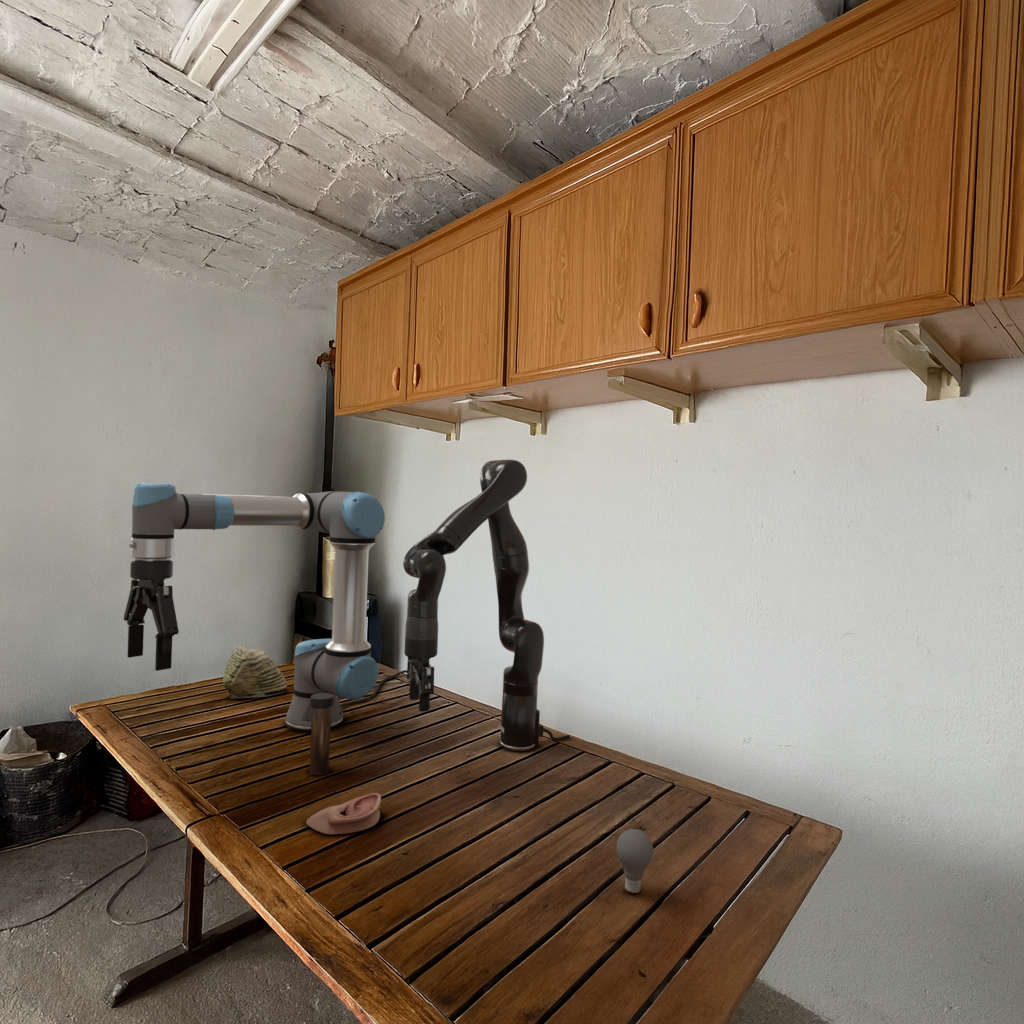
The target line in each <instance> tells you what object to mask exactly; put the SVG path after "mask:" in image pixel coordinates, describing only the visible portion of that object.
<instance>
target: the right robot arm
mask: <svg viewBox="0 0 1024 1024" xmlns="http://www.w3.org/2000/svg"><path fill="white" fill-rule="evenodd" d="M527 482H528V472H527V469H526V467H525V465H524V464H523V463H522V462H521V461H519V460H515V459H496V460H495V459H493V460H489V461H487V462H485V463H484V464H483V466H482V467H481V470H480V475H479V483H480V489H481V493H480V494H478V495H476V496H475V497H474V498H473V499H471V500H468V501H467V502H466V503H464V504H463V505H461V506H459V507H457V509H455V510H454V511H453V512H451V514H450V515H448V516H447V518H445V519H444V520H443V521H442V522H441V523H440V524H439V526H438V527H436V529H435V530H434V531H433V532H431V533H430V534H427V535H426V536H425V537H423V538H422V539H421V540H419V541H418V542H416V543H415V544H413V546H411V547H410V548H409V549H408V551H407V552H406V553H405V555H404V558H403V562H402V566H403V570H404V572H405V573H406V574H407V575H408V576H410V577H413V578H416V579H418V582H417V586H416V588H414V589H412V590H410V591H409V592H408V595H407V604H406V605H407V606H406V607H407V608H406V620H405V626H404V627H405V629H404V630H405V631H404V651H403V652H404V656H406V657H407V664H406V665H407V666H406V670H407V673H406V679H407V680H408V684H409V691H408V692H409V693H408V697H409V700H410V701H417V700H418V710H419V712H420V713H421V712H422V713H424V712H429V711H430V705H431V704H430V703H431V701H430V700H431V695H433V694H434V693H435V666H432V665H431V664H430V660H431V659H432V658H435V657H437V655H438V648H439V647H438V646H439V597H440V594H441V592H442V588H443V584H444V582H445V581H444V580H445V577H446V573H447V561H446V559H445V556H446V555H450V554H451V555H452V554H454V553H456V551H458V550H459V549H460V548H461V547H462V546H463V545H464V544H465V542H467V540H469V538H470V537H471V536H472V535H473V534H474V533H475V532H476V530H478V529H479V528H480V526H482V524H484V523H485V522H486V521H487V522H488V530H489V536H490V543H491V555H492V563H493V571H494V576H495V586H496V587H495V588H496V595H497V608H498V609H497V610H498V636H499V642H500V644H501V646H502V647H503V648H504V649H505V650H507V651H508V652H511V653H512V654H513V653H514V654H513V663H512V665H508V666H506V667H505V668H504V669H503V672H502V673H503V674H502V675H503V676H502V677H503V678H502V696H501V697H502V698H501V719H500V720H501V721H500V723H499V724H498V729H499V730H500V737H499V738H500V739H499V745H500V747H501V748H503V749H504V750H507V751H512V752H520V753H521V752H528V751H531V750H534V749H535V748H539V740H540V739H539V738H542V737H544V733H546V734H548V736H549V738H550V739H551V740H552V741H555V742H559V741H564V740H567V739H570V738H571V735H570V734H567V735H564V736H560V737H556V736H554V735H553V733H552V731H550V730H549V729H547V728H545V727H544V726H543V724H541V723H540V715H541V712H540V710H539V709H538V695H539V693H538V692H539V690H538V689H539V676H540V673H541V670H542V667H543V659H544V648H545V635H544V634H545V633H544V630H543V628H542V626H541V625H540V624H539V623H538V622H535V621H534V620H533V621H532V620H529V619H525V615H524V610H523V609H524V608H523V594H524V589H525V586H526V583H527V580H528V578H529V573H530V560H529V551H528V550H529V549H528V545H527V542H526V538H525V537H524V535H523V533H522V531H521V530H520V527H519V526H518V525H517V523H516V521H515V519H514V516H513V515H512V512H511V508H510V501H511V500H512V499H514V498H515V497H516V496H518V495H519V494H520V493H521V492H522V491H523V490H524V488H526V484H527Z"/></svg>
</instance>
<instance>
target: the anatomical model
mask: <svg viewBox="0 0 1024 1024" xmlns="http://www.w3.org/2000/svg"><path fill="white" fill-rule="evenodd" d="M381 803H382V796H381V794H380V793H379V792H373V793H368V794H364V795H362V796H358V797H356V798H353V799H351V800H348V801H346V802H343V803H340V804H338V805H332V806H328V807H325V808H323V809H321V810H319V811H317V812H315V813H313V814H312V815H311V816H310V817H308V818H307V819H306V821H305V824H306V825H307V826H308V827H309V828H311V829H312V830H314V831H316V832H319V833H321V834H323V835H343V834H351V833H356V832H362V831H365V830H367V829H369V828H370V829H371V828H372V827H374V826H375V825H376V824H377V823H379V821H380V818H381V812H380V810H379V809H380V807H381Z"/></svg>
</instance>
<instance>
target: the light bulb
mask: <svg viewBox="0 0 1024 1024" xmlns="http://www.w3.org/2000/svg"><path fill="white" fill-rule="evenodd" d="M615 849H616V854H617V857H618V859H619V861H620V863H621V865H622V867H623V873H624V874H623V875H624V876H625V878H624V888H625V890H627V891H628V892H630V893H634V894H635V893H639V892H640V891H641V889H642V887H641V886H642V879H643V877H644V875H645V871H646V868H647V867H648V866H649V864H650V863H651V861H652V859H653V855H654V847H653V843H652V841H651V838H649V836H648V835H647V834H646V833H645V832H643V831H642V830H641V829H636V828H629V829H627V830H625V831H623V832H622V833H621V834H620V835H619V837H618V839H617V841H616V847H615Z"/></svg>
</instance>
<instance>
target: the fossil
mask: <svg viewBox="0 0 1024 1024" xmlns="http://www.w3.org/2000/svg"><path fill="white" fill-rule="evenodd" d="M222 676H223V677H222V685H223V687H224V688H225V690H226V691H228V693H229V698H230V699H250V698H264V697H271V696H275V695H281V694H284V693H285V691H286V689H287V687H288V686H287V680H286V678H285V676H284V674H283V673H282V672H281V669H279V668H278V667H277V665H276V663H275V662H274V660H273V659H272V658H271V657H270V656H269V655H268V654H267V653H266V652H265V650H264V649H263V648H260V647H258V648H251V647H247V646H246V647H245V646H238V647H237V648H236V649H235V650H233V651H232V653H231V656H230V657H229V659H228V660H227V663H226V666H225V668H224V671H223V675H222Z"/></svg>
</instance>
